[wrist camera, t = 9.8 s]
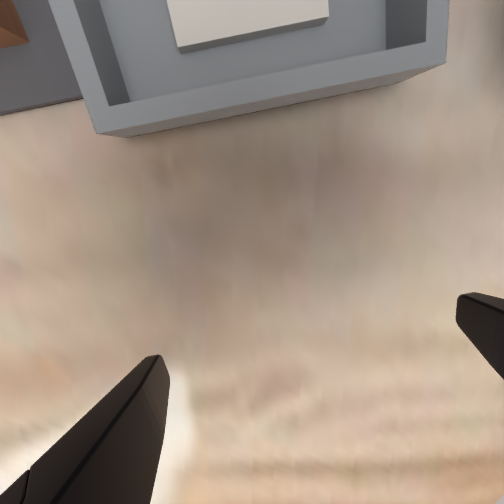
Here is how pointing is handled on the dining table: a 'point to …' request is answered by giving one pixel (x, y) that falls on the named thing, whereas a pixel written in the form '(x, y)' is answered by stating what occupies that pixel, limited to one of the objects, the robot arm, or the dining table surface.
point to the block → (10, 26)
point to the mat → (36, 63)
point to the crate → (238, 54)
